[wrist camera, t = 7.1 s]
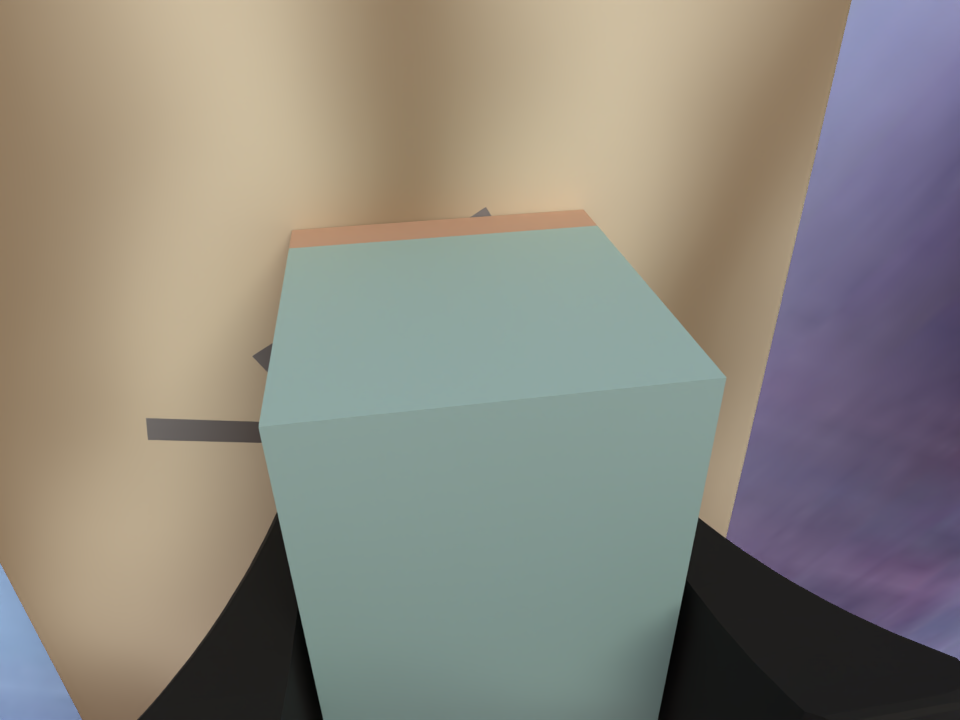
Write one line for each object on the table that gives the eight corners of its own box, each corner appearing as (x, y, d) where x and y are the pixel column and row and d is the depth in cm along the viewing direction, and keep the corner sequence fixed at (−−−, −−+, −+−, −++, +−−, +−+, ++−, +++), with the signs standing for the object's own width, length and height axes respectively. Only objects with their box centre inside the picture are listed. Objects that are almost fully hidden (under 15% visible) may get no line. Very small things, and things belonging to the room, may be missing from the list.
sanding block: (583, 209, 12) (726, 377, 8) (560, 568, 17) (640, 805, 12) (292, 229, 12) (258, 426, 7) (351, 596, 16) (354, 859, 12)
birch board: (807, -42, 12) (860, -38, 11) (673, 632, 22) (693, 676, 20) (-221, -18, 10) (-301, -10, 9) (124, 717, 20) (109, 772, 18)
